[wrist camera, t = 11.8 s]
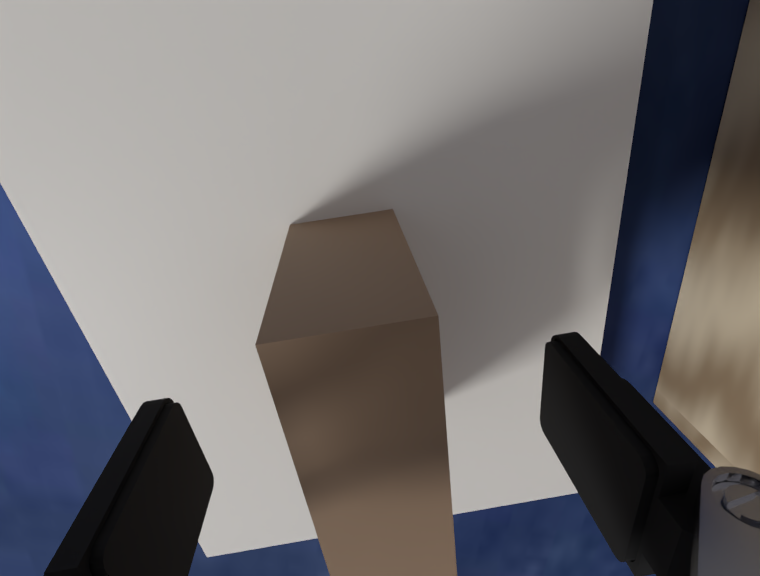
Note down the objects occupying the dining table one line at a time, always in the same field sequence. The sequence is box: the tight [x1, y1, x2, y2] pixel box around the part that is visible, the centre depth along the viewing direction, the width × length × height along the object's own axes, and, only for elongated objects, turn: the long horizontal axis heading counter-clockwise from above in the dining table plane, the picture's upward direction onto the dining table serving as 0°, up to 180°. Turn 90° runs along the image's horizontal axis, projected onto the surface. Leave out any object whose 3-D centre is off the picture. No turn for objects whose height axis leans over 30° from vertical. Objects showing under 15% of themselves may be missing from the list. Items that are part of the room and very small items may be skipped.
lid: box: [0, 0, 653, 576], centre depth 12 cm, size 21×17×8 cm
